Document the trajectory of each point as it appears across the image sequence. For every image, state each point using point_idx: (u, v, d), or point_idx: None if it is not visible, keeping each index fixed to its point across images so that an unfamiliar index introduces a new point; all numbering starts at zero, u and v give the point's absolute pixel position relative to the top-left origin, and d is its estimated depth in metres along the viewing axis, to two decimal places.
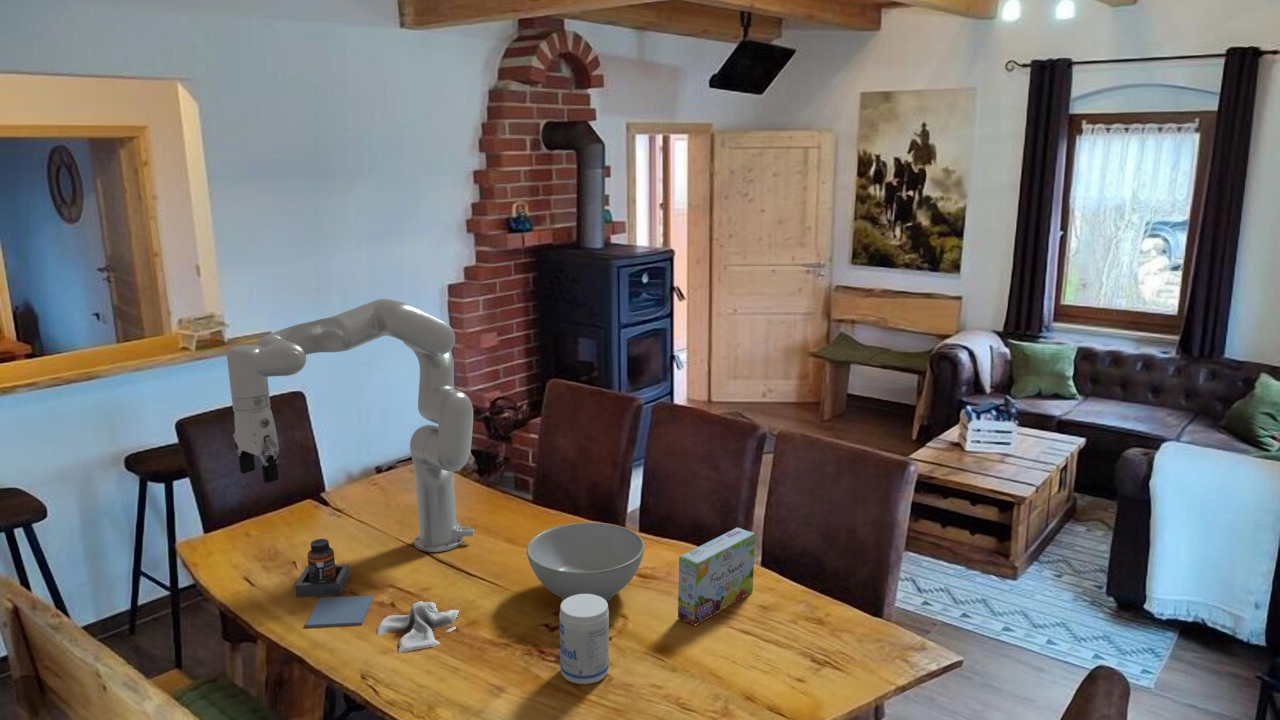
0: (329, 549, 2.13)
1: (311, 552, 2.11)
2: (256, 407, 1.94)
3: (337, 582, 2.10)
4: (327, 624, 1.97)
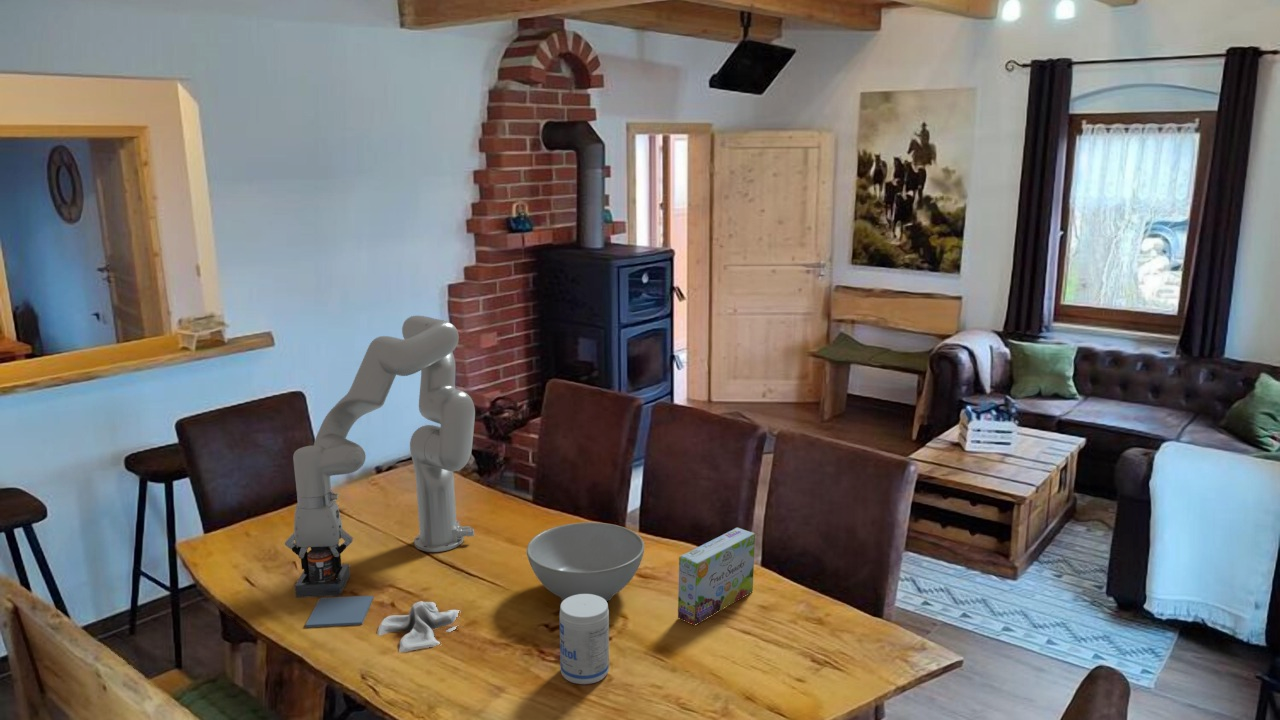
0: (329, 549, 2.13)
1: (311, 552, 2.11)
2: (330, 501, 2.09)
3: (337, 582, 2.10)
4: (327, 624, 1.97)
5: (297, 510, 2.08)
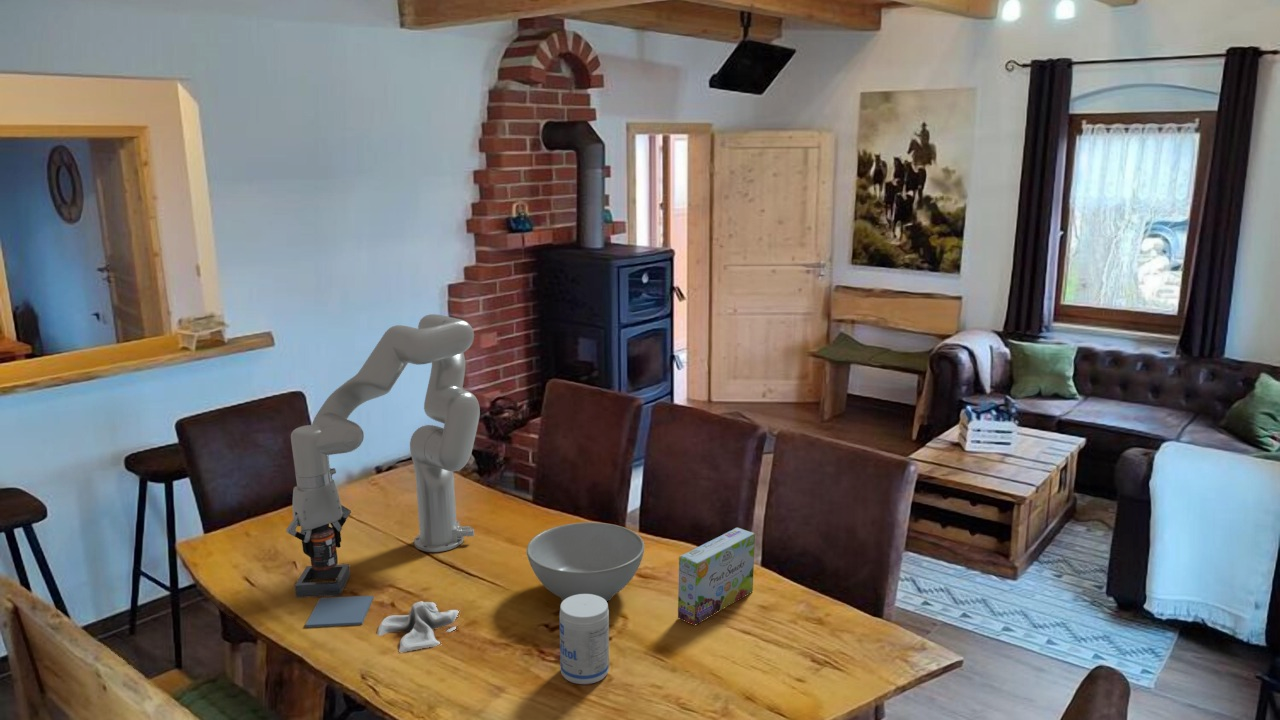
0: None
1: (316, 533, 2.10)
2: None
3: (337, 582, 2.10)
4: (327, 624, 1.97)
5: (303, 492, 2.05)
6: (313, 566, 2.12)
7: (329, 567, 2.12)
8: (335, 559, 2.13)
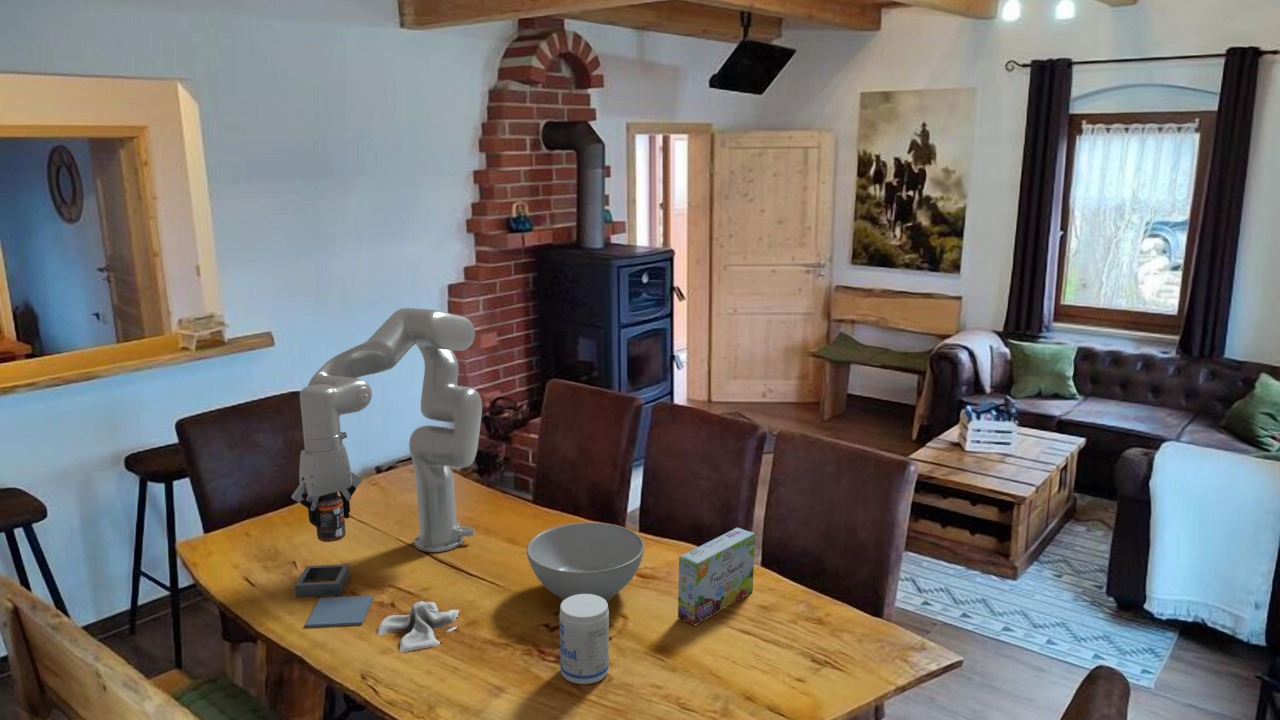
0: (337, 495, 1.99)
1: (323, 501, 1.95)
2: None
3: (337, 582, 2.10)
4: (327, 624, 1.97)
5: (311, 456, 1.91)
6: (319, 537, 1.97)
7: (336, 538, 1.97)
8: (343, 530, 1.99)
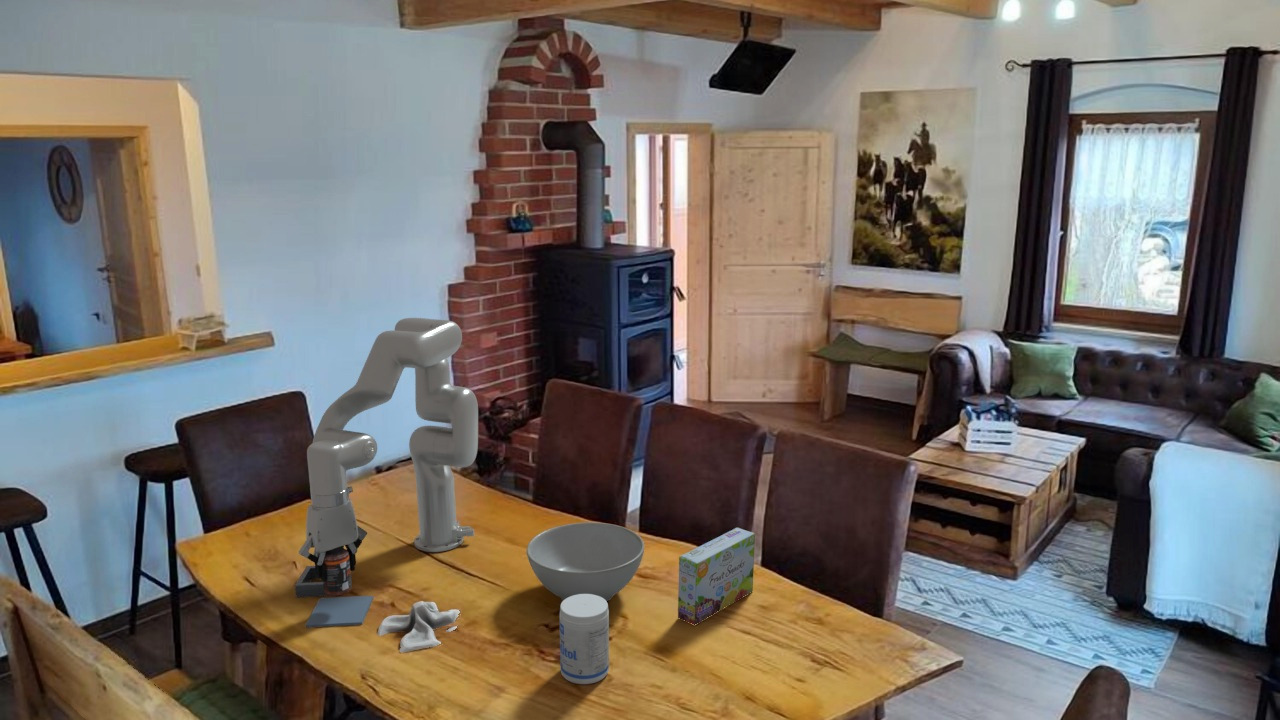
0: None
1: (330, 555, 1.97)
2: None
3: None
4: (327, 624, 1.97)
5: (319, 512, 1.93)
6: (326, 590, 1.99)
7: (343, 592, 1.99)
8: (349, 583, 2.00)
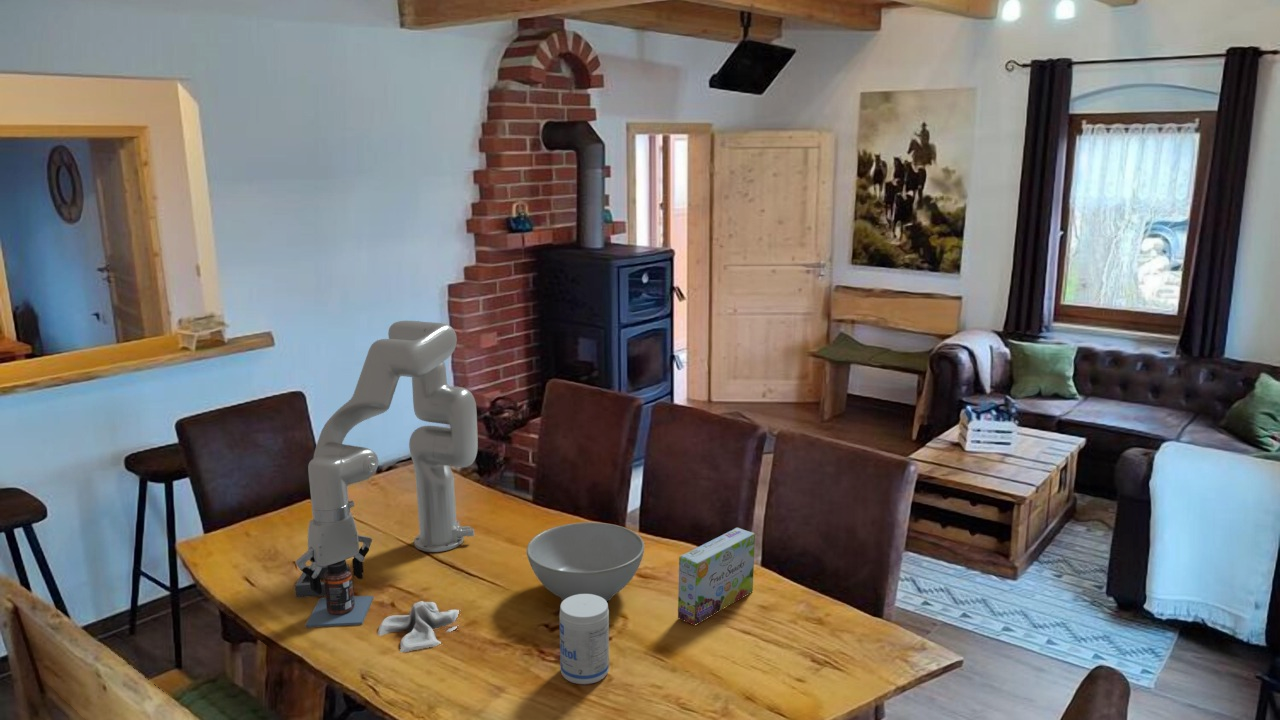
0: (346, 567, 2.02)
1: (333, 574, 1.99)
2: None
3: None
4: (327, 624, 1.97)
5: (320, 527, 1.94)
6: (329, 609, 2.00)
7: (346, 611, 2.00)
8: (352, 602, 2.02)
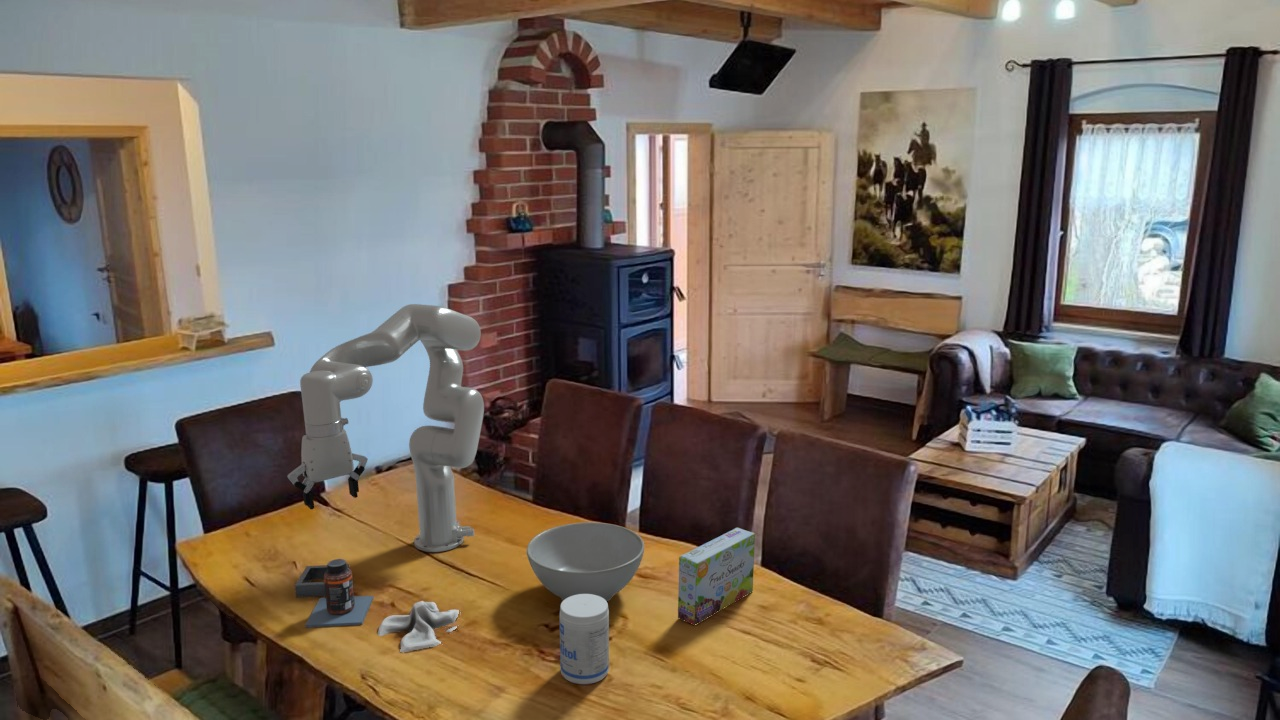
0: (346, 567, 2.02)
1: (333, 574, 1.99)
2: None
3: None
4: (327, 624, 1.97)
5: (311, 441, 1.93)
6: (329, 609, 2.00)
7: (345, 611, 2.00)
8: (352, 602, 2.02)
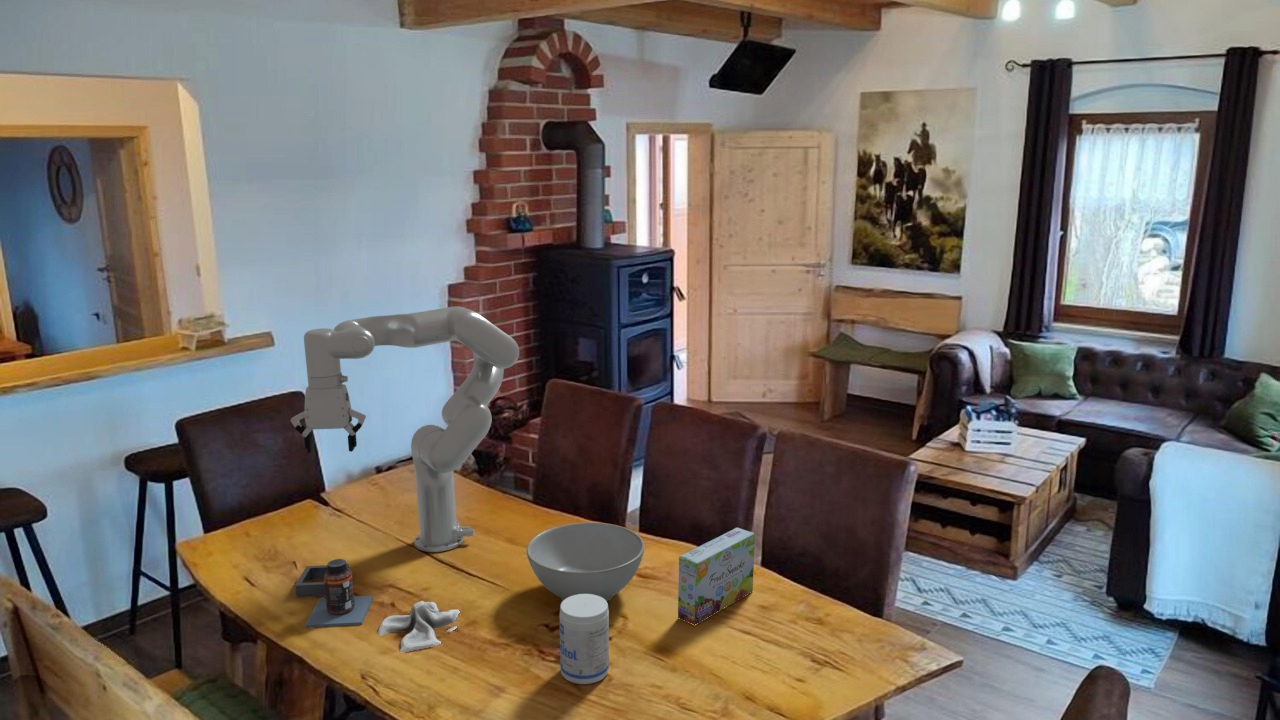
0: (346, 567, 2.02)
1: (333, 575, 1.99)
2: (340, 383, 2.13)
3: None
4: (327, 624, 1.97)
5: (307, 391, 2.12)
6: (329, 609, 2.00)
7: (345, 611, 2.00)
8: (352, 602, 2.02)
